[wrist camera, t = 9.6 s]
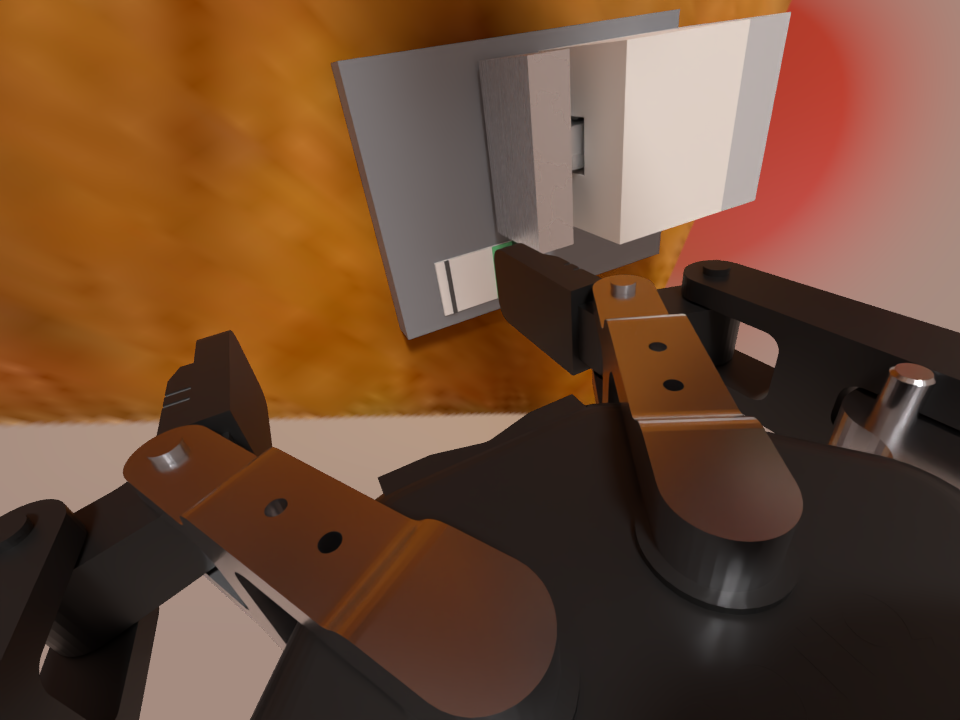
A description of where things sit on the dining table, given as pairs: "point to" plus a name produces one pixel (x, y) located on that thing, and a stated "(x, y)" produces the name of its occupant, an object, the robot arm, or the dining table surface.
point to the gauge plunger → (532, 146)
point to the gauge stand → (607, 147)
